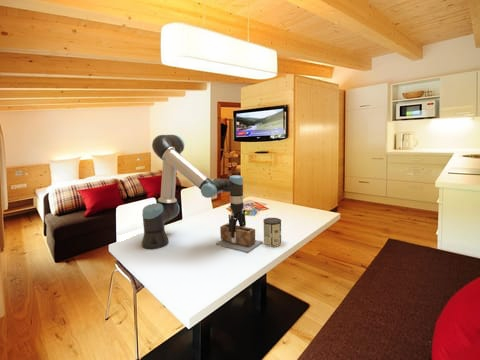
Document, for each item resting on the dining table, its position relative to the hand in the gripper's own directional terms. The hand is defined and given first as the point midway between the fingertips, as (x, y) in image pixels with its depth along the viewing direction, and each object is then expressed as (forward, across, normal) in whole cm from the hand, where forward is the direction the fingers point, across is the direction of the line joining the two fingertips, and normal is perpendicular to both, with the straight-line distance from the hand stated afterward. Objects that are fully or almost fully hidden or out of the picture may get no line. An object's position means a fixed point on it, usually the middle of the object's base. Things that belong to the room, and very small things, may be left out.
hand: (237, 240), depth 158 cm
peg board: (+2, 0, -1) cm, 2 cm away
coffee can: (+2, +11, -17) cm, 20 cm away
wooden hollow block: (0, 0, 0) cm, 0 cm away
